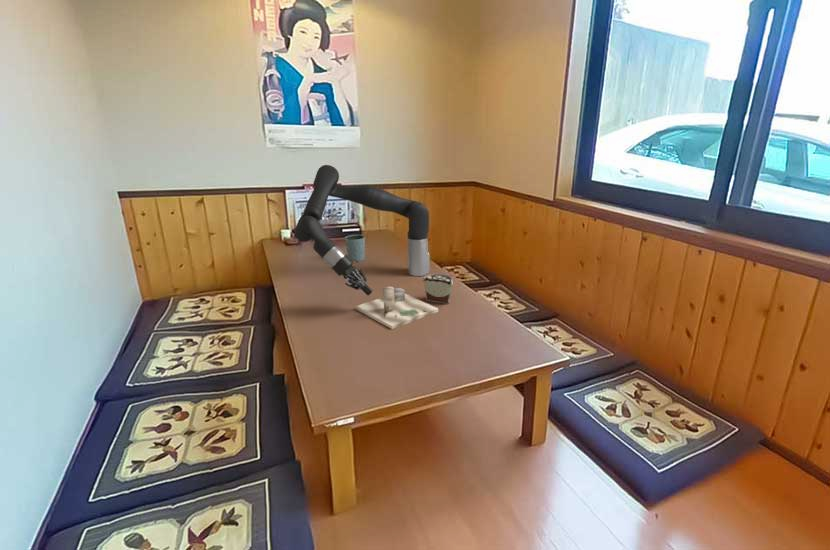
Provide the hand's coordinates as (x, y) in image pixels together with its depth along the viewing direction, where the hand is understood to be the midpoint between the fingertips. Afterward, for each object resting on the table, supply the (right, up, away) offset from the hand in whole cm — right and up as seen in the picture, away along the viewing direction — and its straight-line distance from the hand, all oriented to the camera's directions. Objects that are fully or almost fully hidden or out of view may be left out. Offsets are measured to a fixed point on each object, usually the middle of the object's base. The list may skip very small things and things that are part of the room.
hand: (370, 293), depth 166 cm
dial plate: (+10, -6, +2) cm, 12 cm away
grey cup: (-14, +15, +63) cm, 66 cm away
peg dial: (+8, -4, +4) cm, 10 cm away
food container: (+27, -3, +11) cm, 29 cm away
